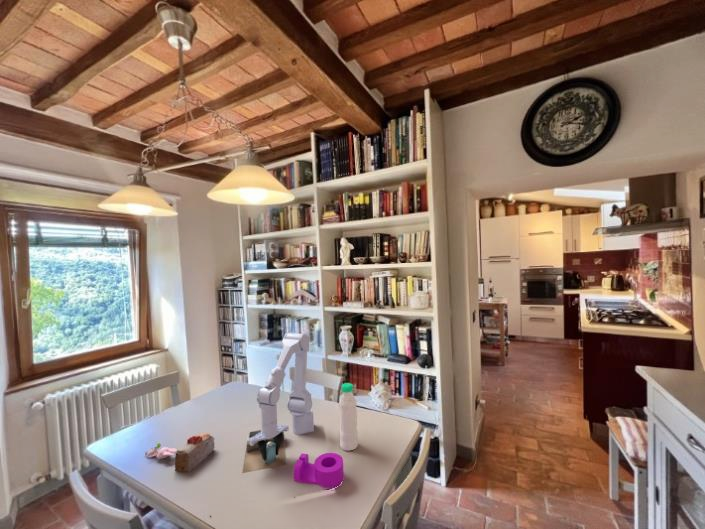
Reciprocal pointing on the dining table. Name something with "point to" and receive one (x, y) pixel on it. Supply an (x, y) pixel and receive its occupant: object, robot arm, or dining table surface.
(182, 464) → the food item
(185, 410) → the dining table surface
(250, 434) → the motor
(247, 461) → the mounting board
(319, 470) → the tape dispenser
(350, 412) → the water bottle
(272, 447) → the blue bottle white cap
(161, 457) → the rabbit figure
